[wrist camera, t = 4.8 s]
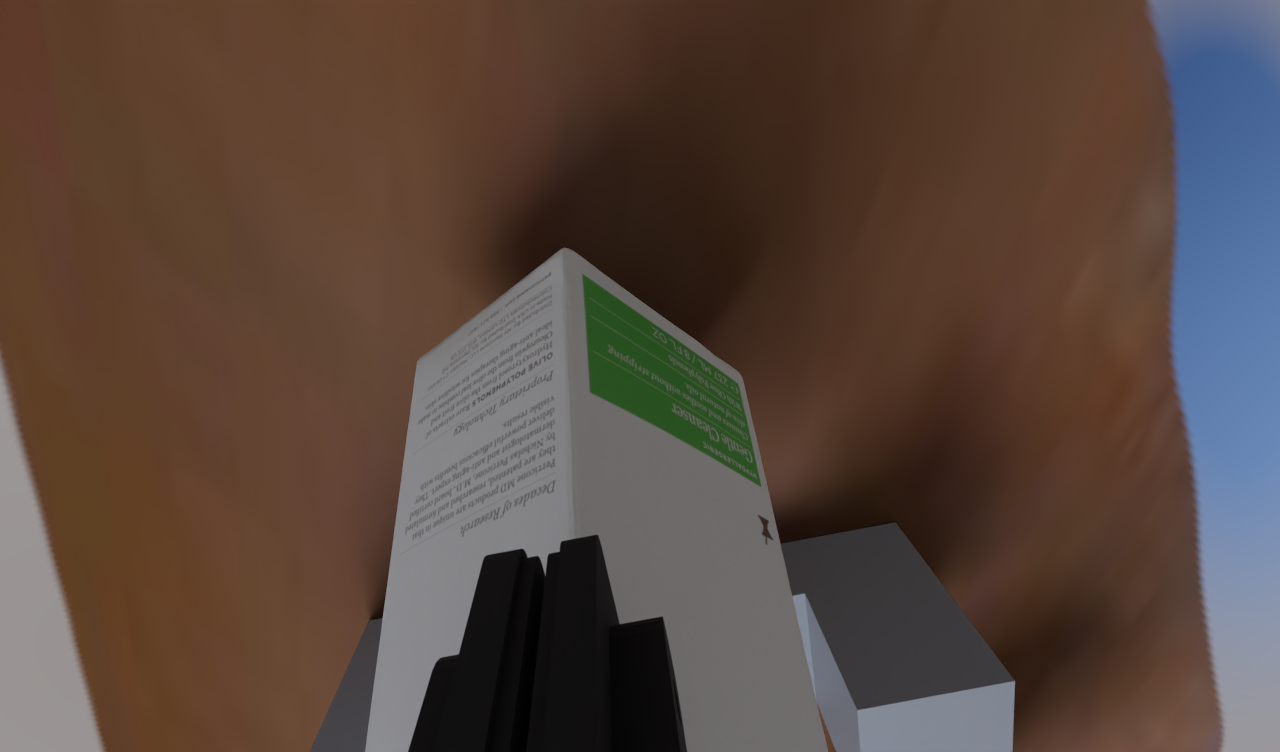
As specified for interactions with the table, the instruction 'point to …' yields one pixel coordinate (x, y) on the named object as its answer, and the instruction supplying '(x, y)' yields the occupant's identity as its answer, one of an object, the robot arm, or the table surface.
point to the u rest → (836, 654)
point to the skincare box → (596, 503)
